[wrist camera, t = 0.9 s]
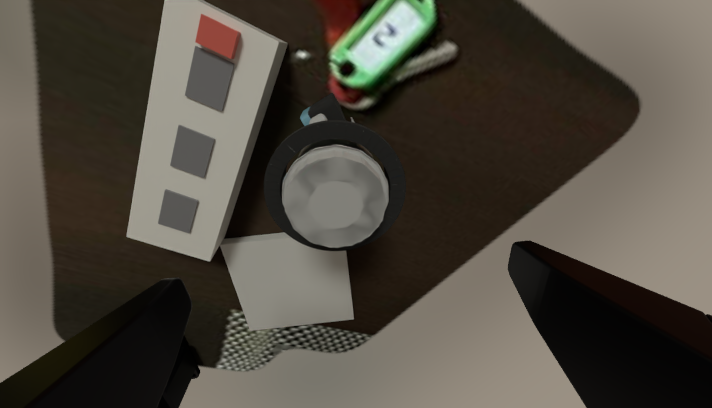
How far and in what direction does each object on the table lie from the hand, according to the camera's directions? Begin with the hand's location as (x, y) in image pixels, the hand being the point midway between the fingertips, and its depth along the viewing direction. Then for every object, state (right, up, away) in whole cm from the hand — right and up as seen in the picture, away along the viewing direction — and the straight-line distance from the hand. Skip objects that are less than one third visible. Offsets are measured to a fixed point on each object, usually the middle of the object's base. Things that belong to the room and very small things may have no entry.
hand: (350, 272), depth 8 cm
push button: (-1, +6, +12) cm, 13 cm away
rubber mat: (-5, -4, +16) cm, 17 cm away
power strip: (-9, +6, +11) cm, 15 cm away
